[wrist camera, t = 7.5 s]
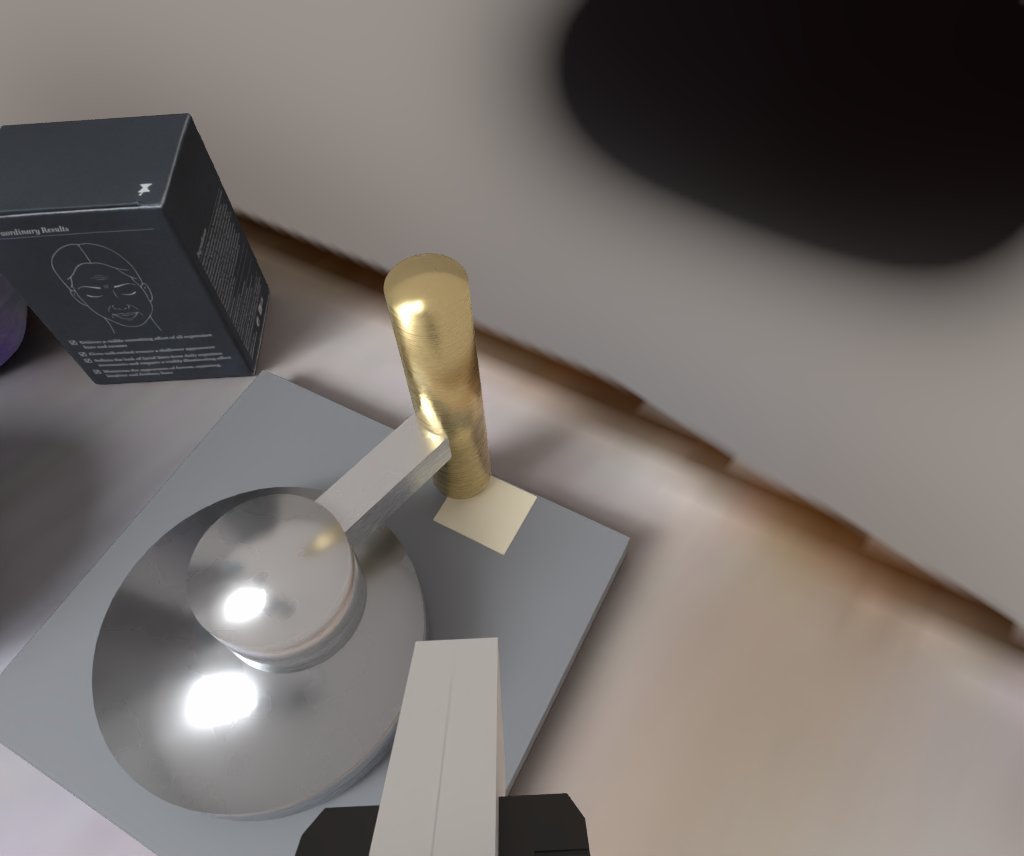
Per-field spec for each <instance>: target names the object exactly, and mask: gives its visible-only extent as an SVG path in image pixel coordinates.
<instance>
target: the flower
mask: <svg viewBox="0 0 1024 856" xmlns="http://www.w3.org/2000/svg"><path fill="white" fill-rule="evenodd" d="M27 307H28V305H27V304H26V302H25V301H24V300H23V299H22V298H21V297H20V295H19V294H18V293H17V292H16V291H15V289H14V288H13V287H12V286H11V285H10V284H9V283H8V282H7V280H6V279H5V278H4V277H3V276H2V275H1V273H0V366H1V365H2V364H4V363H5V362H6V361H7V360H8V359H9V358H10V357H11V356H12V355H13V354H14V353H15V351H16V350H17V349H18V348H19V346H20V344H21V342H22V341H23V337H24V333H25V330H26V320H27Z"/></svg>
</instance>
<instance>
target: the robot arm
mask: <svg viewBox="0 0 1024 856" xmlns="http://www.w3.org/2000/svg"><path fill="white" fill-rule="evenodd" d="M295 856H590V852H589V843H588V836H587V829H586V823H585V818H584V816H583V815H582V814H581V812H580V811H579V809H578V808H577V807H576V805H575V804H574V802H573V801H572V800H571V798H570V797H569V795H568V794H567V793H562V794H542V795H522V796H505V756H504V739H503V721H502V704H501V686H500V669H499V651H498V637H495V638H475V639H455V640H434V641H416V643H415V647H414V652H413V657H412V661H411V666H410V670H409V675H408V679H407V684H406V688H405V693H404V698H403V702H402V707H401V711H400V716H399V720H398V725H397V729H396V734H395V739H394V743H393V748H392V752H391V757H390V761H389V766H388V770H387V775H386V780H385V784H384V789H383V793H382V798H381V802H380V805H371V806H351V807H331V808H324V810H323V811H322V812H321V813H320V814H319V815H318V817H317V818H316V819H315V820H314V821H313V822H312V824H311V825H310V826H309V827H308V828H307V829H306V831H305V832H304V833H303V834H302V836H301V839H300V842H299V845H298V847H297V850H296V853H295Z"/></svg>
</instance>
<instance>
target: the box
mask: <svg viewBox="0 0 1024 856" xmlns="http://www.w3.org/2000/svg"><path fill="white" fill-rule="evenodd" d="M0 273H1V275H2V276H3V277H4V278H5V279H6V280H7V282H8V283H9V284H10V285H11V286H12V287H13V288H14V289H15V291H16V292H17V293H18V294H19V295H20V297H21V298H22V299H23V300H24V301H25V302H26V304H27V305H28V306H29V307H30V308H31V310H32V311H33V312H34V313H35V314H36V315H37V316H38V318H39V319H40V320H41V321H42V322H43V323H44V325H45V326H46V327H47V328H48V329H49V330H50V331H51V332H52V334H53V335H54V336H55V337H56V338H57V340H58V341H59V342H60V343H61V344H62V345H63V347H64V348H65V349H66V350H67V351H68V353H69V354H70V355H71V356H72V357H73V358H74V360H75V361H76V362H77V363H78V364H79V365H80V366H81V367H82V369H83V370H84V371H85V372H86V373H87V375H88V376H89V377H90V378H91V379H92V380H93V381H94V383H96V384H114V383H130V382H148V381H164V380H182V379H200V378H217V377H234V376H250V375H254V374H255V370H256V363H257V359H258V355H259V350H260V344H261V338H262V332H263V328H264V322H265V317H266V311H267V305H268V300H269V297H270V293H269V288H268V285H267V283H266V281H265V278H264V277H263V274H262V272H261V270H260V268H259V265H258V263H257V261H256V258H255V256H254V254H253V252H252V250H251V247H250V245H249V242H248V240H247V238H246V236H245V234H244V232H243V230H242V228H241V225H240V223H239V221H238V218H237V216H236V214H235V212H234V210H233V208H232V205H231V203H230V201H229V199H228V196H227V194H226V192H225V190H224V188H223V186H222V184H221V181H220V178H219V176H218V174H217V172H216V170H215V168H214V165H213V163H212V161H211V159H210V157H209V155H208V152H207V150H206V148H205V146H204V143H203V141H202V139H201V136H200V135H199V133H198V131H197V129H196V126H195V124H194V121H193V119H192V117H191V115H190V114H187V113H185V114H170V115H156V116H141V117H126V118H110V119H95V120H82V121H65V122H51V123H37V124H21V125H4V126H2V127H1V129H0Z"/></svg>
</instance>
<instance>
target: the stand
mask: <svg viewBox="0 0 1024 856" xmlns="http://www.w3.org/2000/svg"><path fill="white" fill-rule="evenodd" d="M393 431H394V429H392V428H390V427H388V426H386V425H383V424H381V423H379V422H377V421H375V420H372V419H370V418H368V417H366V416H364V415H362V414H359V413H357V412H355V411H353V410H351V409H348V408H346V407H344V406H342V405H340V404H338V403H335V402H333V401H331V400H329V399H327V398H324V397H322V396H320V395H318V394H316V393H314V392H311V391H309V390H307V389H305V388H303V387H300V386H298V385H296V384H294V383H292V382H290V381H287V380H285V379H283V378H281V377H279V376H276V375H274V374H272V373H270V372H268V371H265V370H262V371H261V373H260V374H259V375H258V376H257V377H256V378H255V379H254V381H253V382H252V383H251V384H250V385H249V386H248V388H247V389H246V390H245V391H244V392H243V393H242V395H241V396H240V397H239V398H238V399H237V400H236V402H235V403H234V404H233V405H232V406H231V407H230V408H229V410H228V411H227V412H226V413H225V414H224V415H223V417H222V418H221V419H220V420H219V421H218V422H217V424H216V425H215V426H214V427H213V428H212V429H211V431H210V432H209V433H208V434H207V435H206V436H205V438H204V439H203V440H202V441H201V442H200V443H199V444H198V446H197V447H196V448H195V449H194V450H193V451H192V453H191V454H190V455H189V456H188V457H187V458H186V460H185V461H184V462H183V463H182V464H181V465H180V467H179V468H178V469H177V470H176V471H175V472H174V473H173V475H172V476H171V477H170V478H169V479H168V480H167V482H166V483H165V484H164V485H163V486H162V487H161V489H160V490H159V491H158V492H157V493H156V494H155V496H154V497H153V498H152V499H151V500H150V501H149V503H148V504H147V505H146V506H145V507H144V508H143V509H142V511H141V512H140V513H139V514H138V515H137V516H136V518H135V519H134V520H133V521H132V522H131V523H130V525H129V526H128V527H127V528H126V529H125V530H124V532H123V533H122V534H121V535H120V536H119V537H118V538H117V540H116V541H115V542H114V543H113V544H112V545H111V547H110V548H109V549H108V550H107V551H106V552H105V554H104V555H103V556H102V557H101V558H100V559H99V561H98V562H97V563H96V564H95V565H94V566H93V568H92V569H91V570H90V571H89V572H88V573H87V574H86V576H85V577H84V578H83V579H82V580H81V581H80V583H79V584H78V585H77V586H76V587H75V588H74V590H73V591H72V592H71V593H70V594H69V595H68V597H67V598H66V599H65V600H64V601H63V602H62V603H61V605H60V606H59V607H58V608H57V609H56V610H55V612H54V613H53V614H52V615H51V616H50V617H49V619H48V620H47V621H46V622H45V623H44V624H43V626H42V627H41V628H40V629H39V630H38V631H37V633H36V634H35V635H34V636H33V637H32V638H31V639H30V641H29V642H28V643H27V644H26V645H25V646H24V648H23V649H22V650H21V651H20V652H19V653H18V655H17V656H16V657H15V658H14V659H13V660H12V662H11V663H10V664H9V665H8V666H7V667H6V668H5V670H4V671H3V672H2V673H1V674H0V743H1V744H3V745H4V746H6V747H7V748H8V749H10V750H11V751H13V752H14V753H15V754H17V755H18V756H20V757H21V758H22V759H24V760H25V761H27V762H28V763H29V764H31V765H32V766H34V767H35V768H36V769H38V770H39V771H41V772H42V773H43V774H45V775H46V776H48V777H49V778H50V779H52V780H53V781H55V782H56V783H57V784H59V785H60V786H62V787H63V788H64V789H66V790H67V791H69V792H70V793H71V794H73V795H74V796H76V797H77V798H78V799H80V800H81V801H83V802H84V803H85V804H87V805H88V806H90V807H91V808H92V809H94V810H95V811H97V812H98V813H99V814H101V815H102V816H104V817H105V818H106V819H108V820H109V821H111V822H112V823H113V824H115V825H116V826H118V827H119V828H120V829H122V830H123V831H125V832H126V833H127V834H129V835H130V836H132V837H133V838H134V839H136V840H137V841H139V842H140V843H141V844H143V845H144V846H145V847H147V848H148V849H150V850H151V851H152V852H154V853H155V854H157V855H158V856H295V853H296V850H297V847H298V845H299V842H300V839H301V836H302V834H303V833H304V832H305V831H306V829H307V828H308V827H309V826H310V825H311V824H312V822H313V821H314V820H315V819H316V818H317V817H318V815H319V814H320V813H321V812H322V811H323V810H324V808H331V807H351V806H371V805H380V802H381V798H382V793H383V789H384V784H385V780H386V775H387V770H388V766H389V761H390V757H391V752H392V748H393V746H392V748H391V749H390V750H389V751H388V753H387V754H386V755H385V756H384V758H383V759H382V760H381V761H380V762H379V763H378V764H377V765H376V766H375V767H374V768H373V769H372V770H371V771H370V772H369V773H368V774H367V775H366V776H364V777H363V778H362V779H360V780H359V781H358V782H356V783H355V784H354V785H353V786H351V787H350V788H349V789H347V790H346V791H344V792H343V793H341V794H339V795H338V796H336V797H334V798H332V799H331V800H329V801H327V802H326V803H323V804H321V805H319V806H316V807H314V808H312V809H309V810H307V811H305V812H302V813H298V814H294V815H291V816H287V817H284V818H279V819H272V820H264V821H233V820H227V819H220V818H215V817H211V816H208V815H205V814H201V813H198V812H194V811H191V810H188V809H185V808H182V807H179V806H176V805H173V804H170V803H168V802H166V801H164V800H162V799H160V798H158V797H157V796H155V795H153V794H151V793H149V792H148V791H147V790H145V789H144V788H143V787H142V786H140V785H139V784H138V783H136V782H135V781H134V780H133V779H132V778H131V777H130V776H129V775H128V774H127V773H126V772H125V771H124V769H123V768H122V767H121V766H120V765H119V764H118V762H117V761H116V759H115V758H114V756H113V755H112V753H111V751H110V750H109V748H108V747H107V744H106V742H105V740H104V738H103V735H102V733H101V731H100V728H99V725H98V721H97V717H96V713H95V709H94V703H93V693H92V666H93V659H94V653H95V647H96V642H97V638H98V635H99V632H100V628H101V625H102V622H103V619H104V617H105V615H106V612H107V610H108V608H109V606H110V603H111V601H112V599H113V598H114V596H115V594H116V592H117V590H118V589H119V587H120V585H121V583H122V582H123V580H124V579H125V578H126V576H127V575H128V573H129V572H130V571H131V569H132V568H133V567H134V565H135V564H136V563H137V562H138V561H139V559H140V558H141V557H142V556H143V555H144V554H145V553H146V552H147V550H148V549H149V548H150V547H151V546H152V545H153V544H155V543H156V542H157V541H158V540H159V539H160V538H161V537H162V536H163V535H164V534H165V533H167V532H168V531H169V530H171V529H172V528H173V527H175V526H176V525H177V524H179V523H180V522H181V521H183V520H184V519H186V518H188V517H189V516H191V515H193V514H194V513H196V512H198V511H199V510H201V509H203V508H205V507H207V506H209V505H212V504H214V503H216V502H218V501H220V500H223V499H226V498H229V497H231V496H234V495H237V494H240V493H245V492H249V491H253V490H257V489H265V488H273V487H303V488H312V489H318V490H322V491H327V490H328V489H329V488H330V487H331V486H332V485H333V484H335V483H336V482H337V481H338V480H339V479H340V478H341V477H342V476H344V475H345V474H346V473H347V472H348V471H349V470H350V469H351V468H353V467H354V466H355V465H356V464H357V463H358V462H359V461H360V460H362V459H363V458H364V457H365V456H366V455H367V454H368V453H369V452H371V451H372V450H373V449H374V448H375V447H376V446H377V445H378V444H380V443H381V442H382V441H383V440H384V439H385V438H386V437H387V436H389V435H390V434H391V433H392V432H393ZM383 523H384V524H385V525H386V526H387V527H388V528H389V529H390V530H391V531H392V532H393V533H394V535H395V536H396V537H397V539H398V540H399V542H400V543H401V544H402V546H403V547H404V549H405V551H406V553H407V555H408V557H409V558H410V560H411V562H412V564H413V567H414V570H415V572H416V575H417V578H418V580H419V583H420V586H421V589H422V591H423V594H424V597H425V600H426V604H427V609H428V613H429V618H430V631H431V641H434V640H455V639H475V638H495V637H498V651H499V669H500V686H501V704H502V721H503V739H504V756H505V796H508V795H509V793H510V791H511V789H512V787H513V785H514V783H515V781H516V779H517V777H518V774H519V772H520V770H521V768H522V766H523V764H524V762H525V760H526V758H527V756H528V754H529V752H530V750H531V748H532V746H533V744H534V742H535V740H536V738H537V736H538V734H539V732H540V730H541V727H542V725H543V723H544V721H545V719H546V717H547V715H548V713H549V711H550V709H551V707H552V705H553V703H554V701H555V699H556V697H557V695H558V693H559V691H560V689H561V687H562V685H563V683H564V680H565V678H566V676H567V674H568V672H569V670H570V668H571V666H572V664H573V662H574V660H575V658H576V656H577V654H578V652H579V650H580V648H581V646H582V644H583V642H584V640H585V638H586V636H587V633H588V631H589V629H590V627H591V625H592V623H593V621H594V619H595V617H596V615H597V613H598V611H599V609H600V607H601V605H602V603H603V601H604V599H605V597H606V595H607V593H608V591H609V589H610V586H611V584H612V582H613V580H614V578H615V576H616V574H617V572H618V570H619V568H620V566H621V564H622V562H623V560H624V558H625V556H626V554H627V550H628V546H629V541H630V537H628V536H626V535H623V534H621V533H619V532H617V531H615V530H613V529H610V528H608V527H606V526H604V525H602V524H599V523H597V522H595V521H593V520H591V519H589V518H586V517H584V516H582V515H580V514H578V513H575V512H573V511H571V510H569V509H567V508H565V507H562V506H560V505H558V504H556V503H554V502H551V501H549V500H547V499H545V498H543V497H541V496H538V495H536V494H534V493H532V492H530V491H527V490H525V489H523V488H521V487H519V486H517V485H514V484H512V483H510V482H508V481H506V480H503V479H501V478H499V477H497V476H495V475H492V474H491V477H490V480H489V483H488V484H487V486H486V487H485V488H484V490H483V491H481V492H480V493H479V494H477V495H475V496H473V497H471V498H467V499H453V498H449V497H447V496H445V495H443V494H442V493H440V492H439V491H438V490H437V488H436V487H435V485H434V483H433V480H432V477H431V478H430V479H428V480H427V481H426V482H425V483H424V484H423V485H422V486H421V487H420V488H419V489H418V490H417V491H416V492H415V493H414V494H413V495H411V496H410V497H409V498H408V499H407V500H406V501H405V502H404V503H403V504H402V505H401V506H400V507H399V508H398V509H397V510H396V511H395V512H393V513H392V514H391V515H390V516H389V517H388V518H387V519H386V520H385V521H384V522H383Z"/></svg>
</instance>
